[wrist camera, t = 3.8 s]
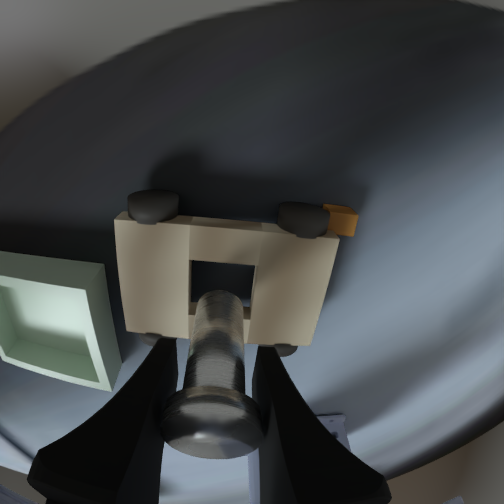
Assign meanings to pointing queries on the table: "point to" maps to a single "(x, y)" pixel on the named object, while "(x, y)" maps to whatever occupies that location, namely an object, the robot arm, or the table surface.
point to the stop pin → (214, 387)
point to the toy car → (227, 251)
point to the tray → (58, 319)
